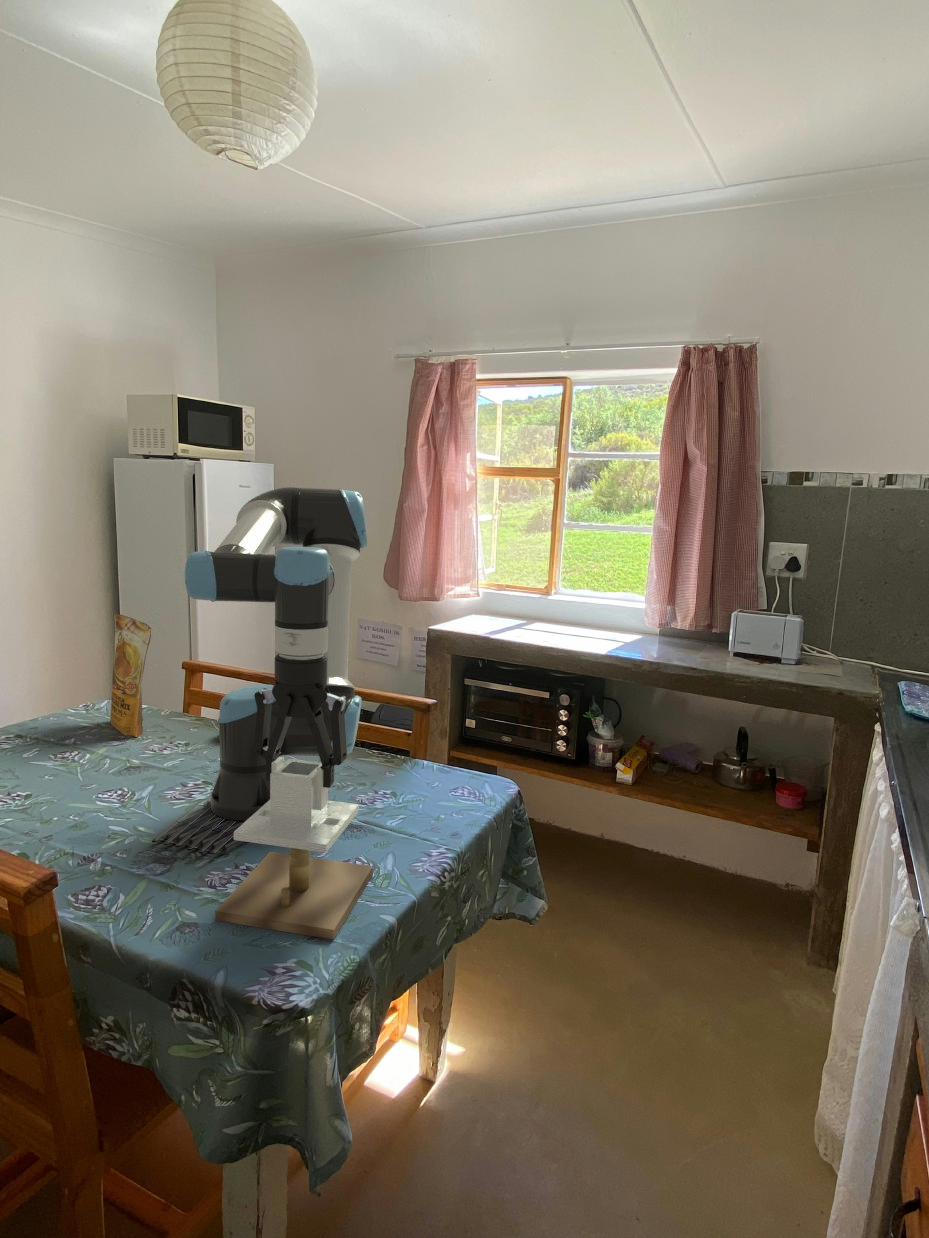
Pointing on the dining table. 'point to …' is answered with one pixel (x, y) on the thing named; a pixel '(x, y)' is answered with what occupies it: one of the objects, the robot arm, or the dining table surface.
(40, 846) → the dining table surface
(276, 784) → the flange
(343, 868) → the post board
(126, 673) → the pancake mix bag
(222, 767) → the robot arm
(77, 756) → the dining table surface
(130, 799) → the dining table surface
